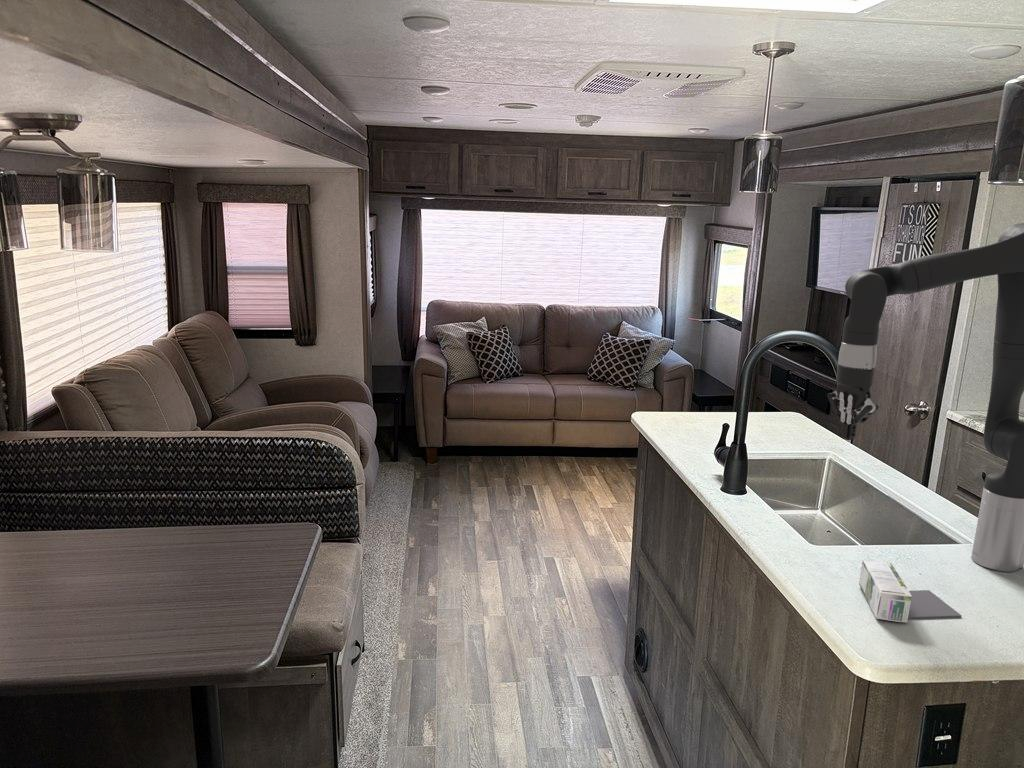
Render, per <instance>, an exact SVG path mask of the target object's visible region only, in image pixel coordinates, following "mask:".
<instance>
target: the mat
mask: <svg viewBox="0 0 1024 768" xmlns="http://www.w3.org/2000/svg"><path fill="white" fill-rule="evenodd" d="M908 591H909V592H910V594H911V595H912V598H911V604H910V609H909V615H908V620H914V619H915V620H918V619H919V620H920V619H949V618H952V619H953V618H962V614H961V613H960V612H958V611H957V610H955V608H952V606H950V605H949V604H947V603H946V602H945V601H944V600H942V599H941V598H940V597H939V596H937V595H936V594H934V593H933V591H931V590H929V589H925V590H918V589H917V590H908Z"/></svg>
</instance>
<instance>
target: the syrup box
mask: <svg viewBox="0 0 1024 768" xmlns="http://www.w3.org/2000/svg"><path fill="white" fill-rule="evenodd" d="M858 585H859V587H860V589H861V591H862V593H863V595H864V597H865V599H866V601H867V604H868V605H869V607H870V609H871V611H872V613H873V615H874V617H875V619H876V620H884V621H889V622H890V621H892V622H898V623H908V620H909V619H908V615H909V609H910V604H911V598H912V595H911V594H910V592H909V591H910V590H909V589H908V587H907V586H906V584H905V583H904V581H903V580H902V578H901V576H900V574H899V573H898V572H897V570H896V569H895V567H894V566H893V563H891V562H883V561H882V562H881V561H871V560H862V563H861V571H860V576H859V582H858Z"/></svg>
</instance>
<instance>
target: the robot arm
mask: <svg viewBox="0 0 1024 768" xmlns="http://www.w3.org/2000/svg"><path fill="white" fill-rule="evenodd" d="M995 275H997V299H996V300H997V302H996V311H995V324H994V325H995V326H994V333H993V334H994V335H993V347H992V349H993V352H992V374H991V381H990V382H991V385H990V391H989V392H990V395H989V399H988V400H989V401H988V406H987V412H986V416H985V421H984V428H983V444H984V448H985V449H986V451H987V452H988V453H989V454H990V455H992V456H994V457H997V458H999V459H1002V460H1004V461H1006V462H1007V463H1006V466H1005V469H1004V472H1001V471H1000V472H991V473H988V474H986V476H985V478H984V482H983V483H984V484H983V488H982V495H981V500H980V505H979V506H980V507H979V512H978V518H977V523H976V527H975V533H974V540H973V545H972V551H971V560H972V561H973V562H975V563H976V564H978V565H980V566H981V567H985V568H988V569H990V570H993V571H999V572H1008V573H1009V572H1017V571H1018V570H1019V569H1023V568H1024V420H1020V405H1021V400H1022V396H1023V394H1024V223H1023V222H1021V223H1020V222H1019V223H1016V224H1012V225H1010V226H1008V227H1007V228H1006V229H1005V230H1004V231H1002V233H1001V234H1000V236H999V237H998V240H997V242H994V243H991V244H987V245H984V246H983V245H982V246H979V247H975V248H968V249H962V250H961V249H960V250H955V251H954V250H953V251H947V252H946V251H945V252H939V253H933V254H929V255H925V256H920V257H917V258H913V259H908V260H904V261H902V262H899V263H895V264H891V265H883V266H879V267H871V268H866V269H863V270H858V271H856V272H854V273H853V274H851V275H850V276H849V277H848V279H847V280H846V282H845V286H844V291H845V293H846V296H847V297H848V298H849V299H850V306H849V311H848V312H849V313H848V316H847V317H846V318H845V319H844V322H843V329H842V337H841V344H840V348H839V353H838V360H837V366H836V367H837V369H836V378H835V382H836V384H837V386H836V388H835V391H833V392H829V393H827V395H826V396H827V397H826V398H827V399H828V402H829V405H830V407H831V409H832V411H833V414H834V417H835V418H838V419H840V422H841V426H840V427H841V429H840V436H841V439H843V440H846V441H852V440H854V439H855V437H856V432H857V425H858V424H864V423H866V422H867V421H868V420H869V419H870V418H871V417H872V416H873V415H874V414H875V413H876V412H877V411H878V410H879V405H878V404H876V403H874V402H873V401H872V400H871V399H872V398H871V397H872V394H871V388H872V387H873V385H874V380H875V372H876V366H877V365H876V364H877V359H878V358H877V357H878V350H877V349H878V340H879V339H878V338H879V330H880V328H879V327H880V322H881V319H882V316H883V313H884V309H885V306H886V302H887V298H888V297H890V296H891V297H892V296H896V295H911V294H917V293H920V292H925V291H928V290H933V289H936V288H941V287H944V286H949V285H953V284H957V283H960V282H961V283H962V282H965V281H970V280H974V279H980V278H983V277H984V278H985V277H991V276H995Z"/></svg>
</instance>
